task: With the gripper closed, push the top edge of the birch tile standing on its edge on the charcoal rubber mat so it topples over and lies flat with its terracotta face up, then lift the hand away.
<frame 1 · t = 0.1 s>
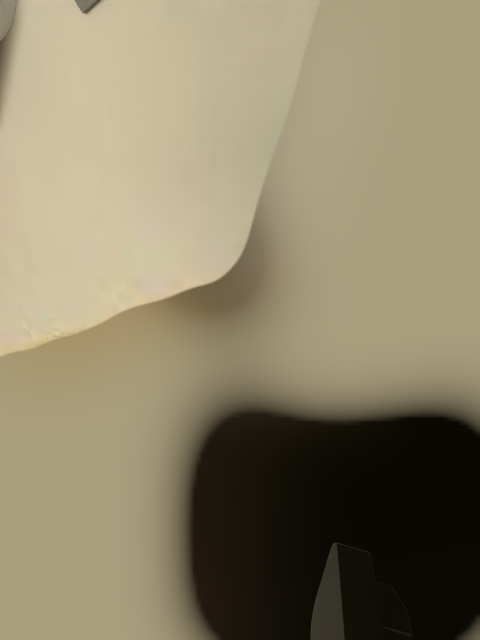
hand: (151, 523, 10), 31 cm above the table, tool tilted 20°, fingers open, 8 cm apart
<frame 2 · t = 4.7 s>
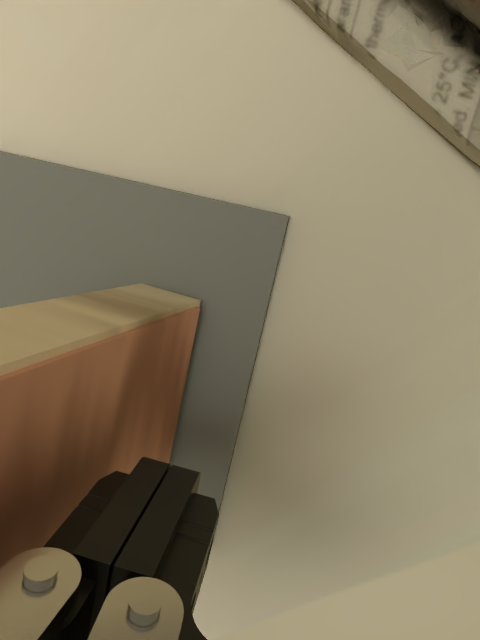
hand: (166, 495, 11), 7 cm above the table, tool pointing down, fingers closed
birch tile: (154, 380, 17), point 1 cm above the table, tilted 9°, touching gripper, mat
mat: (32, 340, 19), on the table
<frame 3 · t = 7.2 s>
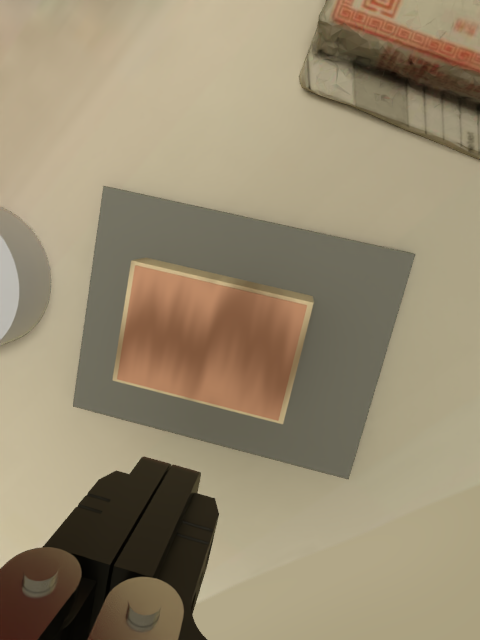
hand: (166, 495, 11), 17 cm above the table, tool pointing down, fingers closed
birch tile: (298, 359, 26), point 2 cm above the table, tilted 90°, touching mat
mat: (230, 334, 28), on the table
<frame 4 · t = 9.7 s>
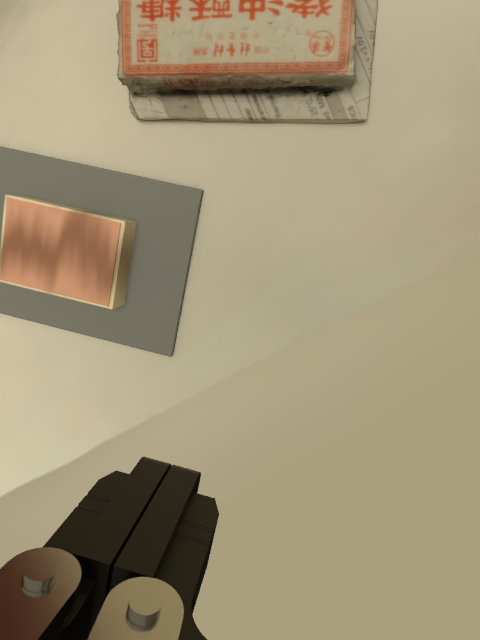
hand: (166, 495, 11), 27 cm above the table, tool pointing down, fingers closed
birch tile: (124, 265, 37), point 2 cm above the table, tilted 90°, touching mat
mat: (86, 252, 39), on the table
packaged product: (249, 54, 35), on the table
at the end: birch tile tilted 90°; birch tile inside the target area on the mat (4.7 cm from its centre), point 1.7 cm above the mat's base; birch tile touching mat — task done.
